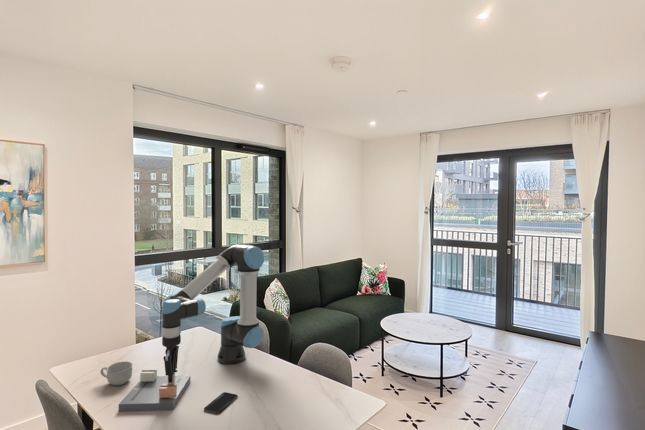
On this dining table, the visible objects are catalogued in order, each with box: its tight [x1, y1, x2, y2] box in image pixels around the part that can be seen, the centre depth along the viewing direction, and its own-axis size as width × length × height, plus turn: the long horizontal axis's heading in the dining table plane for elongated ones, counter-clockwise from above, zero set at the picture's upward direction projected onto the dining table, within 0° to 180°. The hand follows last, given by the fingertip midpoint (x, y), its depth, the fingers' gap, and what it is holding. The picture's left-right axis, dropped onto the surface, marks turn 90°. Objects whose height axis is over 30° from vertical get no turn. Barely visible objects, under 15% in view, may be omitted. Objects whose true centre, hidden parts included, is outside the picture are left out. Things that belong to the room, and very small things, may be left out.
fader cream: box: [139, 368, 158, 382], centre depth 167 cm, size 6×4×4 cm, turn 94°
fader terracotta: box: [159, 384, 177, 398], centre depth 153 cm, size 6×4×4 cm, turn 94°
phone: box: [203, 391, 238, 415], centre depth 154 cm, size 8×1×15 cm
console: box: [118, 375, 191, 412], centre depth 160 cm, size 22×24×3 cm
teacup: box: [100, 360, 133, 387], centre depth 171 cm, size 14×11×8 cm
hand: (171, 388), depth 157 cm, fingers closed
